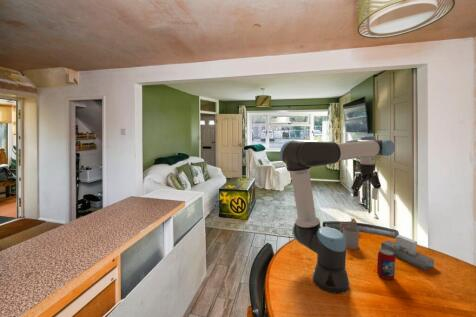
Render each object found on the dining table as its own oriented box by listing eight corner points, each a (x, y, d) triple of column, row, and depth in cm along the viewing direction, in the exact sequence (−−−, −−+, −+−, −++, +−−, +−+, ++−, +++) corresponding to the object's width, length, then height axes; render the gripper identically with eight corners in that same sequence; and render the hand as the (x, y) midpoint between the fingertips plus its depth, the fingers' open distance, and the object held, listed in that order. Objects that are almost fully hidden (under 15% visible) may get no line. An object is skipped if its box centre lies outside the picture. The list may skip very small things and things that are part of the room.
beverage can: (386, 282, 97) (387, 256, 96) (373, 273, 104) (374, 249, 103) (398, 279, 99) (399, 254, 98) (384, 270, 106) (385, 247, 105)
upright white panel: (415, 261, 113) (417, 241, 113) (412, 262, 112) (413, 242, 111) (398, 253, 121) (399, 234, 121) (395, 254, 120) (396, 235, 120)
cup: (360, 249, 126) (360, 232, 125) (344, 248, 128) (345, 231, 127) (355, 242, 134) (356, 226, 133) (341, 241, 136) (341, 226, 135)
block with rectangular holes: (424, 270, 105) (425, 262, 105) (381, 249, 126) (381, 242, 126) (433, 267, 108) (434, 259, 108) (389, 246, 128) (389, 240, 128)
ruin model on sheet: (353, 231, 151) (353, 217, 150) (356, 233, 148) (357, 219, 147) (338, 232, 149) (339, 219, 148) (341, 234, 146) (341, 220, 145)
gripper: (356, 165, 114) (355, 204, 116) (389, 163, 123) (387, 199, 125) (344, 164, 121) (343, 201, 123) (376, 161, 130) (375, 196, 132)
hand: (365, 200), depth 124 cm, fingers open, 13 cm apart
